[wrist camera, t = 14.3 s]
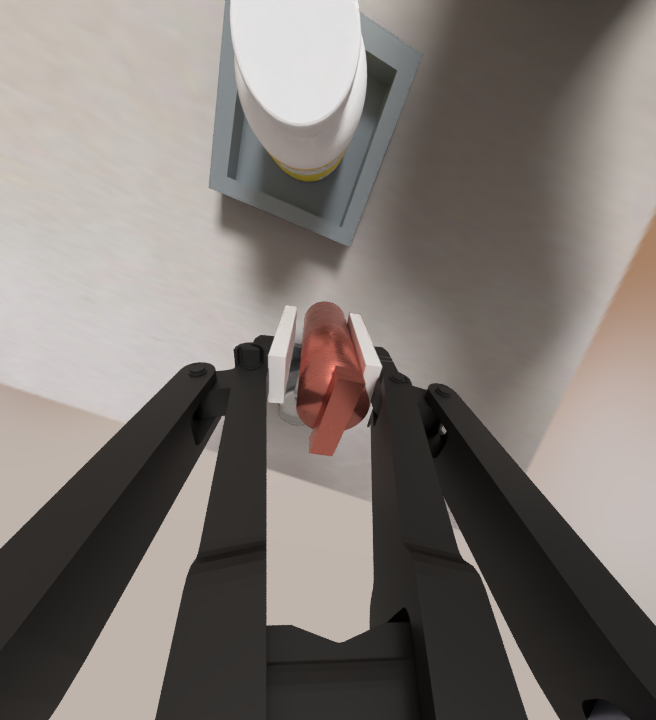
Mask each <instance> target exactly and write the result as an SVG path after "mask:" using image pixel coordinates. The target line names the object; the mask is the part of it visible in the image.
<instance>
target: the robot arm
mask: <svg viewBox="0 0 656 720" xmlns="http://www.w3.org/2000/svg"><path fill="white" fill-rule="evenodd" d="M296 316H297V307H295V306H287V305H286V306H285V309H284V312H283V315H282V318H281V320H280V323H279V326H278V329H277V332H276V335H275V336H266V335H260V336H258V337H257V338H255V340H254V342H253V343H252V342H250V343H243V344H239V345H238V346H236V347H235V349H234V357H235V368H234V369H231V370H224V371H216V370H215V367H214V366H213V365H211V364H209V363H200V362H199V363H192V364H190V365H187V366H185V367H184V368H182V369H181V370H180V371H179V372H178V373H177V374H176V375H175V376H174V377H173V378H172V379H171V380H170V381H169V382H168V383H167V384H166V385H165V386H164V387H163V388H162V389H161V390H160V391H159V392H158V393H157V394H156V395H155V396H154V397H153V398H152V399H151V400H150V401H149V402H148V403H147V404H146V405H145V406H144V407H143V408H142V409H141V410H140V411H139V412H138V413H137V414H136V415H135V416H133V417H132V418H131V419H130V420H129V421H128V422H127V423H126V424H125V425H124V426H123V427H122V428H121V429H120V430H119V431H118V433H117V434H115V435H114V436H113V437H112V438H111V439H110V440H109V441H108V442H107V443H106V444H105V445H104V446H103V447H102V448H101V449H100V450H99V451H98V452H97V453H96V454H95V455H94V456H93V457H92V458H91V459H90V460H89V461H88V462H87V463H86V464H85V465H84V466H83V467H82V468H81V469H80V470H79V471H78V472H77V473H76V474H75V475H74V476H73V477H72V478H71V479H70V480H69V481H68V482H67V483H66V484H65V485H64V486H63V487H62V488H61V489H60V490H59V491H58V492H57V493H56V494H55V495H54V496H53V497H52V498H51V499H50V500H49V501H48V502H47V503H46V504H45V505H44V506H43V507H42V508H41V509H40V510H39V511H38V512H37V513H36V514H35V515H34V516H33V517H32V518H31V519H30V520H29V521H28V522H27V523H26V524H25V525H24V526H23V527H22V528H21V529H20V530H19V531H18V532H17V533H16V534H15V535H14V536H13V537H12V538H11V539H10V540H9V541H8V542H7V543H6V544H5V545H4V546H3V547H2V548H1V549H0V720H49V718H50V717H51V715H52V714H53V713H54V711H55V709H56V708H57V707H58V705H59V703H60V702H61V700H62V698H63V697H64V695H65V693H66V692H67V690H68V688H69V687H70V685H71V683H72V682H73V680H74V678H75V677H76V675H77V673H78V672H79V670H80V668H81V667H82V665H83V663H84V662H85V660H86V658H87V656H88V654H89V653H90V651H91V649H92V647H93V646H94V644H95V642H96V640H97V638H98V637H99V635H100V633H101V631H102V629H103V628H104V626H105V624H106V622H107V621H108V619H109V617H110V615H111V613H112V612H113V610H114V608H115V606H116V604H117V603H118V601H119V599H120V597H121V596H122V594H123V592H124V590H125V588H126V587H127V585H128V583H129V581H130V579H131V578H132V576H133V574H134V572H135V570H136V569H137V567H138V565H139V563H140V562H141V560H142V558H143V556H144V555H145V553H146V551H147V549H148V547H149V546H150V544H151V542H152V540H153V538H154V537H155V535H156V533H157V531H158V530H159V528H160V526H161V524H162V522H163V521H164V519H165V517H166V515H167V513H168V512H169V510H170V508H171V506H172V504H173V503H174V501H175V499H176V497H177V496H178V494H179V492H180V490H181V489H182V487H183V484H184V483H185V481H186V480H187V478H188V476H189V474H190V472H191V470H192V469H193V467H194V465H195V464H196V462H197V460H198V458H199V456H200V455H201V453H202V451H203V449H204V447H205V446H206V444H207V442H208V440H209V439H210V437H211V435H212V433H213V431H214V430H215V428H216V426H217V424H218V422H219V421H220V419H221V416H225V420H224V425H223V431H222V436H221V441H220V446H219V451H218V457H217V461H216V466H215V472H214V476H213V481H212V486H211V492H210V497H209V502H208V507H207V512H206V517H205V522H204V527H203V532H202V537H201V543H200V547H199V551H198V555H197V557H196V559H195V561H194V562H193V564H192V565H191V567H190V570H189V572H188V575H187V578H186V582H185V586H184V590H183V594H182V599H181V603H180V608H179V612H178V617H177V622H176V626H175V631H174V636H173V640H172V644H171V649H170V654H169V658H168V663H167V667H166V672H165V677H164V681H163V686H162V690H161V695H160V700H159V705H158V709H157V713H156V718H155V720H528V718H527V715H526V712H525V709H524V706H523V703H522V700H521V697H520V694H519V691H518V688H517V685H516V681H515V679H514V675H513V672H512V669H511V666H510V663H509V660H508V657H507V654H506V651H505V648H504V645H503V641H502V638H501V635H500V632H499V629H498V626H497V623H496V620H495V617H494V614H493V611H492V608H491V605H490V602H489V599H488V596H487V592H486V589H485V587H484V584H483V582H482V580H481V577H480V575H479V574H478V572H477V571H476V570H475V568H474V566H472V565H470V564H469V563H467V562H466V561H464V560H463V558H462V557H461V555H460V553H459V550H458V547H457V543H456V540H455V536H454V533H453V529H452V526H451V522H450V518H449V515H448V511H447V508H446V504H445V501H444V498H445V500H446V502H447V504H448V506H449V508H450V510H451V512H452V514H453V516H454V518H455V520H456V522H457V524H458V526H459V528H460V530H461V532H462V534H463V536H464V538H465V540H466V542H467V544H468V546H469V548H470V550H471V552H472V554H473V556H474V558H475V560H476V562H477V564H478V566H479V569H480V571H481V573H482V574H483V577H484V579H485V580H486V583H487V585H488V586H489V589H490V591H491V593H492V595H493V597H494V599H495V601H496V603H497V605H498V607H499V608H500V610H501V613H502V614H503V616H504V619H505V621H506V623H507V625H508V627H509V629H510V631H511V633H512V635H513V637H514V639H515V640H516V643H517V645H518V647H519V649H520V650H521V652H522V654H523V656H524V658H525V660H526V662H527V664H528V665H529V667H530V669H531V671H532V673H533V675H534V677H535V679H536V680H537V682H538V684H539V685H540V687H541V689H542V690H543V692H544V694H545V695H546V697H547V699H548V700H549V702H550V704H551V705H552V707H553V709H554V710H555V712H556V714H557V715H558V717H559V719H560V720H656V626H655V625H654V624H653V622H652V621H651V620H650V619H649V618H648V617H647V615H646V614H645V613H644V612H643V611H642V610H641V609H640V607H639V606H638V605H637V604H636V603H635V602H634V600H633V599H632V598H631V597H630V596H629V594H628V593H627V592H626V591H625V590H624V588H623V587H622V586H621V585H620V584H619V583H618V582H617V580H616V579H615V578H614V577H613V576H612V575H611V573H610V572H609V571H608V570H607V569H606V567H605V566H604V565H603V564H602V563H601V562H600V560H599V559H598V558H597V557H596V556H595V555H594V553H593V552H592V551H591V550H590V549H589V548H588V546H587V545H586V544H585V543H584V542H583V541H582V539H581V538H580V537H579V536H578V535H577V534H576V532H575V531H574V530H573V529H572V528H571V527H570V525H569V524H568V523H567V522H566V521H565V520H564V518H563V517H562V516H561V515H560V514H559V512H558V511H557V510H556V509H555V508H554V507H553V506H552V504H551V503H550V502H549V501H548V500H547V498H546V497H545V496H544V495H543V494H542V493H541V491H540V490H539V489H538V488H537V487H536V486H535V484H534V483H533V482H532V481H531V480H530V479H529V477H528V476H527V475H526V474H525V473H524V472H523V470H522V469H521V468H520V467H519V466H518V465H517V463H516V462H515V461H514V460H513V459H512V458H511V456H510V455H509V454H508V453H507V452H506V451H505V449H504V448H503V447H502V446H501V445H500V444H499V442H498V441H497V440H496V439H495V438H494V436H493V435H492V434H491V433H490V432H489V431H488V429H487V428H486V427H485V426H484V425H483V424H482V422H481V421H480V420H479V419H478V418H477V417H476V415H475V414H474V413H473V412H472V411H471V410H470V408H469V407H468V406H467V405H466V404H465V403H464V401H463V400H462V399H461V398H460V397H459V396H458V394H457V393H456V392H455V391H454V390H452V389H451V388H449V387H448V386H446V385H443V384H437V383H435V384H431V385H429V387H428V389H427V390H425V389H422V388H418V387H415V386H412V383H411V381H410V379H409V378H408V377H407V376H405V375H403V374H401V373H399V372H398V370H397V368H396V367H395V365H394V363H393V361H392V359H391V358H390V355H389V353H388V352H387V351H386V350H385V349H384V348H383V347H374V346H373V344H372V341H371V339H370V337H369V334H368V332H367V330H366V327H365V325H364V323H363V320H362V318H361V316H360V314H352V313H349V318H348V323H347V326H348V330H349V333H350V336H351V340H352V343H353V347H354V350H355V353H356V357H357V360H358V363H359V367H360V370H361V371H362V373H363V377H364V380H365V383H366V385H365V387H366V390H367V393H368V397H369V401H370V404H371V403H372V406H373V410H372V413H371V416H370V419H369V422H368V425H367V427H369V426H370V424H371V464H372V512H373V560H374V561H373V562H374V584H373V591H372V597H371V604H370V630H368V631H366V632H364V633H362V634H360V635H358V636H355V637H353V638H351V639H349V640H347V641H345V642H341V643H337V642H334V641H331V640H329V639H326V638H323V637H321V636H318V635H316V634H313V633H311V632H308V631H305V630H303V629H300V628H298V627H295V626H292V625H272V626H266V401H267V398H268V402H270V403H282V404H283V403H284V397H285V392H286V386H287V381H288V375H289V370H290V365H291V359H292V354H293V348H294V343H295V329H296ZM369 407H370V406H369ZM443 426H444V427H445V429H446V431H447V432H446V433H445V434H444V433H443V432H442V430H441V429H442V427H443ZM443 496H444V497H443Z"/></svg>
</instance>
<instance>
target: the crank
mask: <svg viewBox="0 0 656 720" xmlns="http://www.w3.org/2000/svg"><path fill="white" fill-rule="evenodd" d="M365 385H366V383H365V380H364V377H363V373H362V371H361V370H360V367H359V363H358V360H357V357H356V353H355V350H354V347H353V343H352V340H351V336H350V333H349V330H348V326H347V323H346V320H345V316H344V313H343V311H342V310H341V309H340V307H338V306H337V305H336V304H334V303H331V302H318V303H316V304H314V305H312V306H311V307H310V308H309V309H308V311H307V312H306V314H305V318H304V328H303V339H302V349H301V360H300V368H299V372H298V375H297V379H296V383H295V386H292V387H289V388H287V389H286V392H285V397H284V403H283V404H282V403H280V405H279V415H280V417H281V418H282V419H283V420H284V421H285V422H287V423H289V424H292V425H305V424H306V425H307V426H309V427H310V428H313V430H312V432H311V435H310V444H309V453H313V454H320V455H327V456H332V455H333V453H334V451H335V449H336V447H337V445H338V443H339V440H340V438H341V436H342V434H343V432H344V430H347V429H350V428H352V427H354V426H355V425H357V424H358V423H360V422H361V421H362V420H363V419H364V417H365V416H366V414H367V413H368V410H369V406H370V401H369V397H368V393H367V390H366V387H365Z"/></svg>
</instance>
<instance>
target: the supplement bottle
mask: <svg viewBox="0 0 656 720" xmlns="http://www.w3.org/2000/svg"><path fill="white" fill-rule="evenodd" d="M230 28H231V38H232V44H233V50H234V54H235V55H234V63H235V77H236V84H237V90H238V95H239V98H240V102H241V105H242V108H243V111H244V114H245V116H246V119H247V121H248V123H249V125H250V127H251V129H252V131H253V133H254V134H255V136H256V137H257V139H258V140H259V142H260V143H261V144H262V146H263V147H264V148H265V149H266V151H267V152H268V153H269V154H270V156H271V157H272V158H273V159H274V161H275V162H276V163H277V164H278V166H279V167H280V168H281V169H282V170H283V171H284V172H285V173H286V174H288V175H289V176H291V177H292V178H294V179H296V180H298V181H301V182H308V183H309V182H317V181H321V180H323V179H325V178H326V177H328V176H329V175H330V174H332V173H333V172H334V171H335V169H336V168H337V167H338V165H339V164H340V162H341V161H342V159H343V157H344V155H345V153H346V150H347V148H348V146H349V144H350V142H351V139H352V137H353V135H354V133H355V131H356V129H357V126H358V124H359V121H360V118H361V114H362V111H363V106H364V101H365V95H366V87H367V61H366V53H365V46H364V42H363V38H362V34H361V23H360V13H359V6H358V1H357V0H231V1H230Z"/></svg>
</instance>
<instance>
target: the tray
mask: <svg viewBox="0 0 656 720" xmlns="http://www.w3.org/2000/svg"><path fill="white" fill-rule="evenodd" d="M230 1H231V0H225V10H224V22H223V33H222V44H221V55H220V67H219V78H218V89H217V101H216V112H215V123H214V134H213V146H212V157H211V168H210V180H209V188H211V189H213V190H215V191H218V192H220V193H222V194H225V195H227V196H230V197H232V198H234V199H237V200H239V201H241V202H244V203H246V204H248V205H251V206H253V207H256V208H258V209H260V210H263V211H265V212H267V213H270V214H272V215H275V216H277V217H279V218H282V219H284V220H286V221H289V222H291V223H293V224H296V225H298V226H301V227H303V228H305V229H308V230H310V231H312V232H315V233H317V234H319V235H322V236H324V237H327V238H329V239H331V240H334V241H336V242H338V243H341V244H343V245H346V246H348V247H349V246H350V244H351V241H352V238H353V236H354V233H355V230H356V228H357V225H358V223H359V220H360V217H361V215H362V212H363V210H364V207H365V204H366V202H367V199H368V196H369V194H370V191H371V189H372V186H373V183H374V181H375V178H376V176H377V173H378V170H379V168H380V165H381V162H382V160H383V157H384V155H385V152H386V149H387V147H388V144H389V142H390V139H391V136H392V134H393V131H394V129H395V126H396V123H397V121H398V118H399V115H400V113H401V110H402V108H403V105H404V102H405V100H406V97H407V95H408V92H409V89H410V87H411V84H412V81H413V79H414V76H415V74H416V71H417V68H418V66H419V63H420V61H421V58H422V54H421V53H419V52H418V51H416V50H415V49H414V48H412V47H411V46H409V45H408V44H406V43H405V42H403V41H402V40H400V39H399V38H397V37H396V36H395V35H393V34H392V33H390V32H389V31H387V30H386V29H384V28H383V27H381V26H380V25H379V24H377V23H376V22H374V21H373V20H371V19H370V18H368V17H367V16H365V15H364V14H362V13H361V12H360V11H359V13H360V23H361V34H362V38H363V42H364V46H365V53H366V61H367V87H366V95H365V101H364V106H363V111H362V114H361V118H360V121H359V124H358V126H357V129H356V131H355V133H354V135H353V137H352V139H351V142H350V144H349V146H348V148H347V150H346V153H345V155H344V157H343V159H342V161H341V162H340V164H339V165H338V167H337V168H336V169H335V171H334V172H333V173H332V174H330V175H329V176H328V177H326V178H325V179H323V180H321V181H317V182H309V183H308V182H301V181H298V180H296V179H294V178H292V177H291V176H289V175H288V174H286V173H285V172H284V171H283V170H282V169H281V168H280V167H279V166H278V164H277V163H276V162H275V161H274V159H273V158H272V157H271V156H270V154H269V153H268V152H267V151H266V149H265V148H264V147H263V146H262V144H261V143H260V142H259V140H258V139H257V137H256V136H255V134H254V133H253V131H252V129H251V127H250V125H249V123H248V121H247V119H246V116H245V114H244V111H243V108H242V105H241V102H240V98H239V95H238V90H237V84H236V77H235V63H234V55H235V54H234V50H233V44H232V38H231V28H230Z"/></svg>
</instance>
